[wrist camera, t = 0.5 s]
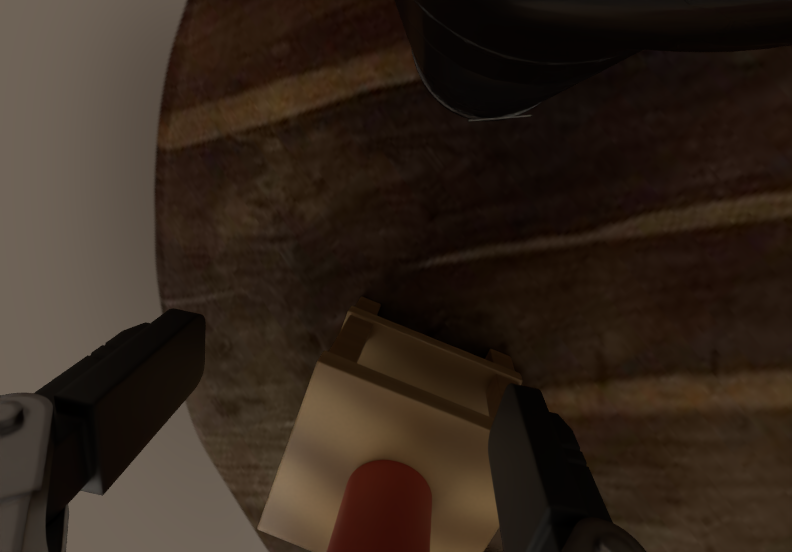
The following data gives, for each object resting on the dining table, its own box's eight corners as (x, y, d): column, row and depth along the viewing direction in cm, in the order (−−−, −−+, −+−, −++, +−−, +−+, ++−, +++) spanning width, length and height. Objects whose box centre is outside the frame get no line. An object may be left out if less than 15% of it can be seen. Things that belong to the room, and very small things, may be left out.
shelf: (359, 292, 29) (317, 360, 20) (514, 354, 29) (546, 453, 20) (311, 420, 33) (256, 529, 24) (448, 476, 33) (448, 607, 24)
